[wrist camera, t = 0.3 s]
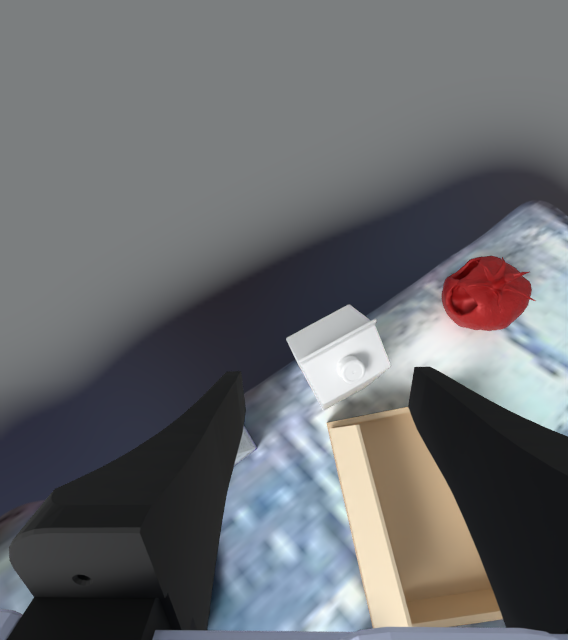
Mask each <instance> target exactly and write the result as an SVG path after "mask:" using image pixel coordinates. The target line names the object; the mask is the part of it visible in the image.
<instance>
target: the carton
mask: <svg viewBox="0 0 568 640" xmlns="http://www.w3.org/2000/svg"><path fill="white" fill-rule="evenodd" d="M358 424H359V426H360V430H361V434H362V438H363V442H364V445H365V449H366V453H367V457H368V460H369V464H370V468H371V472H372V476H373V479H374V483H375V487H376V491H377V495H378V498H379V502H380V506H381V510H382V513H383V517H384V521H385V525H386V529H387V532H388V536H389V540H390V544H391V548H392V551H393V555H394V559H395V563H396V566H397V570H398V574H399V578H400V582H401V585H402V589H403V593H404V597H405V601H406V604H407V608H408V612H409V616H410V620H411V623H412V627H453V626H460V625H466V624H473V623H480V622H487V621H494V620H501V619H503V617H502V614H501V612H500V609H499V606H498V603H497V600H496V598H495V595H494V592H493V590H492V587H491V585H490V582H489V579H488V577H487V574H486V572H485V569H484V567H483V564H482V561H481V559H480V556H479V554H478V551H477V549H476V547H475V544H474V542H473V539H472V537H471V535H470V532H469V530H468V527H467V525H466V523H465V520H464V518H463V516H462V514H461V511H460V509H459V507H458V505H457V502H456V500H455V498H454V496H453V494H452V492H451V490H450V488H449V486H448V484H447V482H446V480H445V478H444V477H443V475H442V473H441V471H440V470H439V468H438V466H437V464H436V463H435V461H434V459H433V457H432V456H431V454H430V452H429V450H428V449H427V447H426V445H425V443H424V441H423V440H422V438H421V436H420V434H419V432H418V430H417V428H416V426H415V423H414V421H413V418H412V416H411V413H410V411H409V408H408V407H404V408H399V409H394V410H388V411H383V412H378V413H373V414H368V415H363V416H358V417H353V418H348V419H343V420H338V421H333V422H328V423H327V427H328V431H329V436H330V440H331V445H332V449H333V454H334V458H335V462H336V467H337V471H338V476H339V480H340V485H341V489H342V493H343V498H344V502H345V507H346V511H347V516H348V520H349V525H350V529H351V533H352V538H353V542H354V547H355V551H356V556H357V560H358V564H359V569H360V573H361V578H362V582H363V587H364V591H365V596H366V600H367V604H368V609H369V613H370V618H371V622H372V626H373V628H374V624H373V620H372V616H371V611H370V607H369V602H368V598H367V593H366V589H365V585H364V580H363V576H362V571H361V567H360V563H359V558H358V554H357V549H356V545H355V541H354V536H353V532H352V527H351V523H350V519H349V514H348V510H347V505H346V501H345V496H344V492H343V488H342V483H341V479H340V474H339V470H338V466H337V461H336V457H335V452H334V448H333V444H332V439H331V435H330V430H329V429H331V428H337V427H344V426H351V425H358Z"/></svg>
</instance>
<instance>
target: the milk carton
mask: <svg viewBox="0 0 568 640" xmlns="http://www.w3.org/2000/svg"><path fill="white" fill-rule="evenodd" d="M376 321H377V320H376V319H374V320H372V321H371V320H369V319H368V318H367V317H365V316H364V315H363V314H361V313H360V312H359V311H357V310H356V309H355V308H353V307H352V306H351V305H347V306H345V307H343V308H341V309H339V310H337V311H335V312H334V313H332V314H330V315H328V316H327V317H324V318H323V319H321V320H319V321H317V322H315V323H313V324H311V325H310V326H308V327H306V328H304V329H302V330H300V331H299V332H297V333H295V334H293V335H291V336H289V337H288V338H287V339H286V340H287V342H288V344H289V346H290V348H291V350H292V353H293V354H294V357H295V359H296V361H297V363H298V365H299V367H300V369H301V371H302V373H303V374H304V376H305V378H306V380H307V382H308V384H309V385H310V387H311V389H312V391H313V393H314V395H315V396H316V398H317V400H318V402H319V404H320V406H321V407H322V409H323V410H326V409H328V408H329V407H331V406H333V405H335V404H337V403H338V402H340V401H342V400H344V399H346V398H347V397H349V396H351V395H353V394H355V393H356V392H358V391H360V390H362V389H363V388H365V387H367V386H368V385H369V384H371V383H372V382H373V381H374V380H375V379H377V378H378V377H379V376H380V375H382V374H383V373H384V372H385V371H386V370H388V369H389V368H390V367H391V364H390V361H389V359H388V356H387V354H386V351H385V349H384V346H383V344H382V341H381V339H380V336H379V333H378V331H377V328H376V326H375V323H376Z"/></svg>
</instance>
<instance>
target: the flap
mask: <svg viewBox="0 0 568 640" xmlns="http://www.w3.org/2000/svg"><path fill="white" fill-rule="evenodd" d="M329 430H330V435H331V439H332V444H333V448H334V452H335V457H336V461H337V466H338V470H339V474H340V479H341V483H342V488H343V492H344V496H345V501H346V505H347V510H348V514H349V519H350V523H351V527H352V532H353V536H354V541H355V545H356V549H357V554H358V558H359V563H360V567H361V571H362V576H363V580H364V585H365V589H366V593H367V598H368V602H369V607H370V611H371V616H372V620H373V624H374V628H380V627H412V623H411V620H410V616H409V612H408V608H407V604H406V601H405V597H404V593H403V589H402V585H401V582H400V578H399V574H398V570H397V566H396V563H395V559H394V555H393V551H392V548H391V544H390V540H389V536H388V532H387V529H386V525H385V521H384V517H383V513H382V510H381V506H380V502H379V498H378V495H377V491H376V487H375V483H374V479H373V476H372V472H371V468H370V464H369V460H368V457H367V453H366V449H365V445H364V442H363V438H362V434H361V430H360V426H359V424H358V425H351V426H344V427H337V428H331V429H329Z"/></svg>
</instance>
